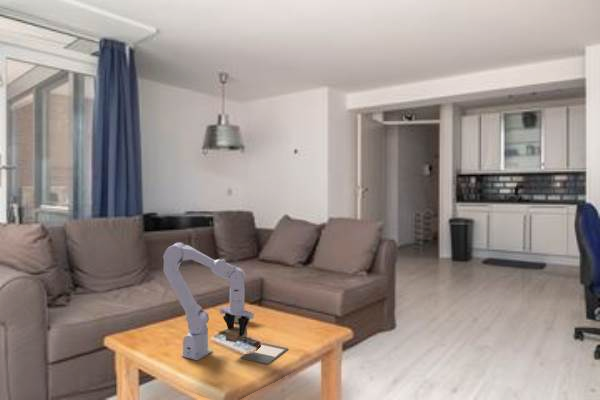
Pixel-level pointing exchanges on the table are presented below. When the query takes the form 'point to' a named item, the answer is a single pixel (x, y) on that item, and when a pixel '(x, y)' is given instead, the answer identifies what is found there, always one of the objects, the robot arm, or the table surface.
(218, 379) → the table surface
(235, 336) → the banded brown carton
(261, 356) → the mat
